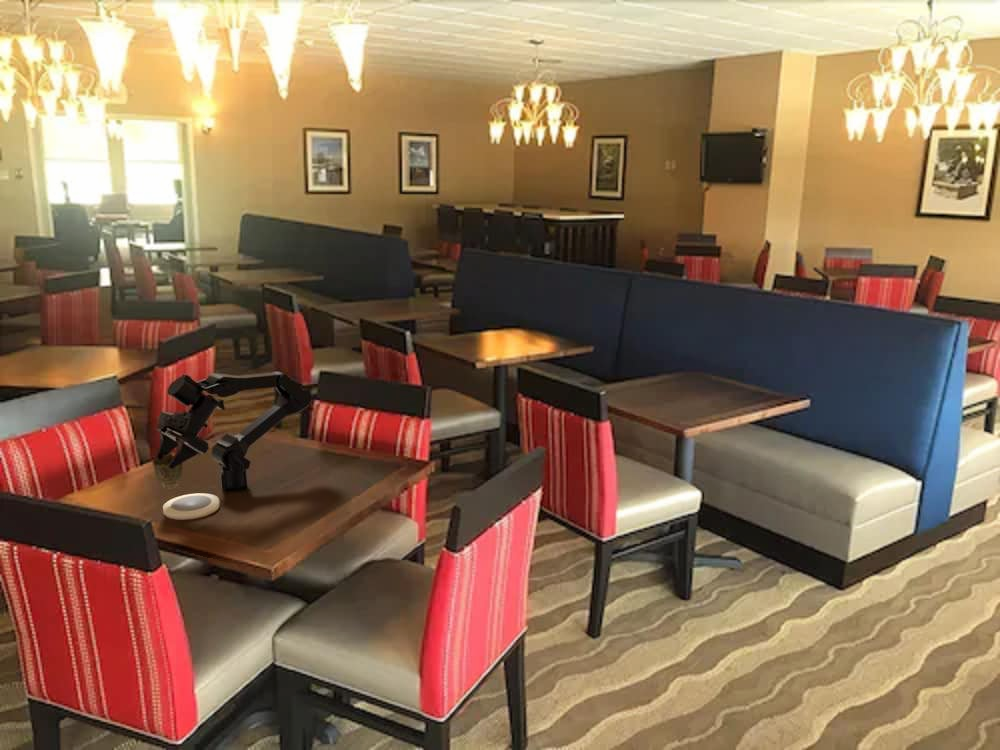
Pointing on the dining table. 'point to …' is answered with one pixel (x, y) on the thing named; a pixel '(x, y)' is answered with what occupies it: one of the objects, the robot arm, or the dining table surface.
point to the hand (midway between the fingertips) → (163, 464)
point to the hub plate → (191, 506)
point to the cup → (167, 471)
